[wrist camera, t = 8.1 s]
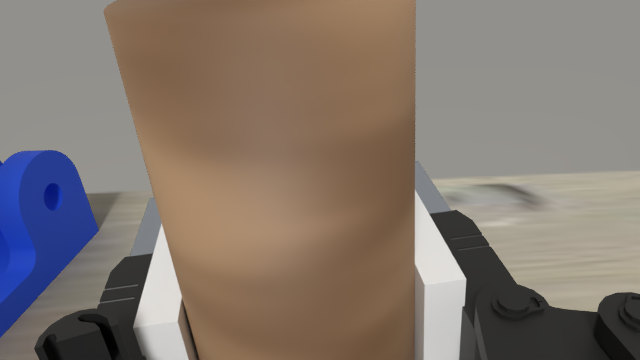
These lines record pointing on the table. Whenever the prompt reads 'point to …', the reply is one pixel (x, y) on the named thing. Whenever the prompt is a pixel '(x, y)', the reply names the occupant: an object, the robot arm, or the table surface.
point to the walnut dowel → (280, 168)
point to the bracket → (38, 226)
